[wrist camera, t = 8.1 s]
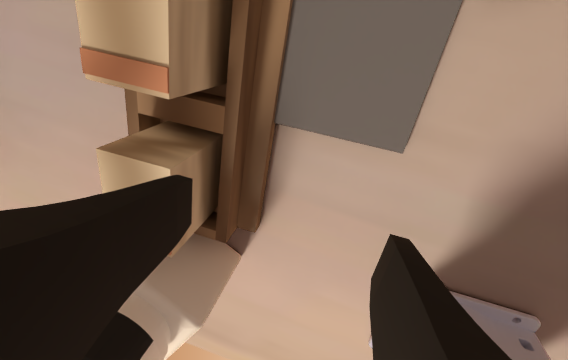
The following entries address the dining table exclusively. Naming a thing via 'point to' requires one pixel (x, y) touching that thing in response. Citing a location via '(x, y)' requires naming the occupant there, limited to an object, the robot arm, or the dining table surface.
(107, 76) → the birch block
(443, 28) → the charcoal mat
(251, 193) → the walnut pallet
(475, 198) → the dining table surface
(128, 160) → the block
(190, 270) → the medicine bottle
